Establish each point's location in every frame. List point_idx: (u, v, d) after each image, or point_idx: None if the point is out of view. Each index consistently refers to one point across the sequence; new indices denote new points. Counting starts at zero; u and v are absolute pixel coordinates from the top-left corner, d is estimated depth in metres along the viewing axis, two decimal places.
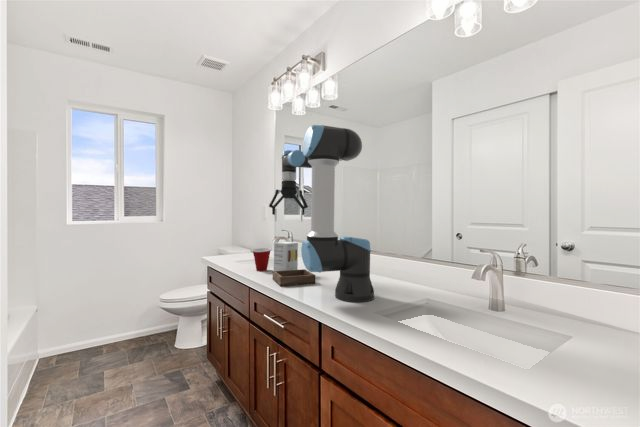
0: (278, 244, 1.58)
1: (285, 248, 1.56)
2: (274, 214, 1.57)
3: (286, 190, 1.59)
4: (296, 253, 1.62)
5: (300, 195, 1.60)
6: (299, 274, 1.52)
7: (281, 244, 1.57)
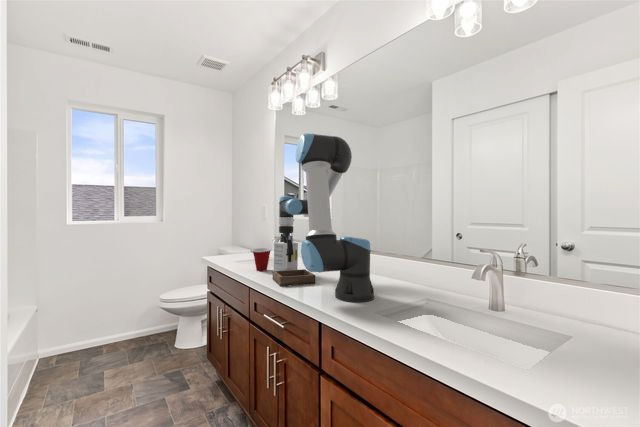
0: (278, 244, 1.58)
1: (285, 248, 1.56)
2: None
3: (283, 235, 1.62)
4: (296, 253, 1.62)
5: (286, 241, 1.55)
6: (299, 274, 1.52)
7: (281, 244, 1.57)
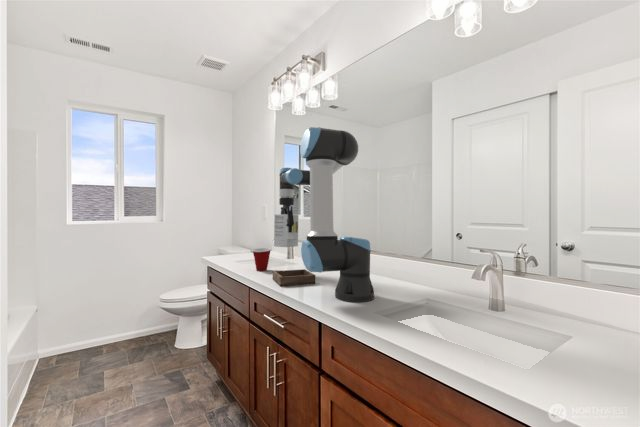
0: (278, 216, 1.58)
1: (285, 219, 1.56)
2: None
3: (283, 207, 1.62)
4: (297, 225, 1.61)
5: (287, 211, 1.55)
6: (299, 274, 1.52)
7: (281, 215, 1.57)
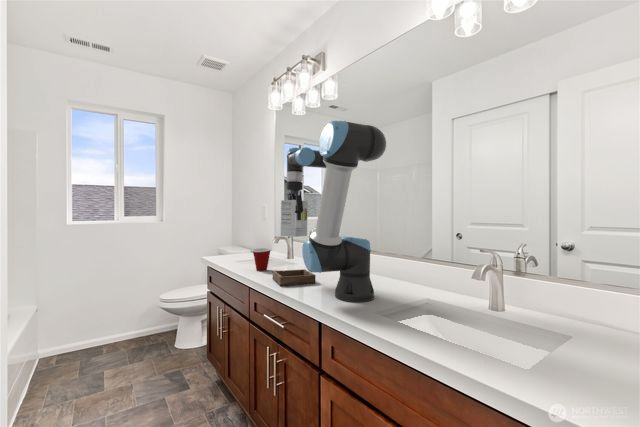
0: (286, 201, 1.41)
1: (293, 205, 1.39)
2: None
3: (291, 192, 1.45)
4: (306, 212, 1.45)
5: (295, 197, 1.38)
6: (299, 274, 1.52)
7: (289, 201, 1.40)
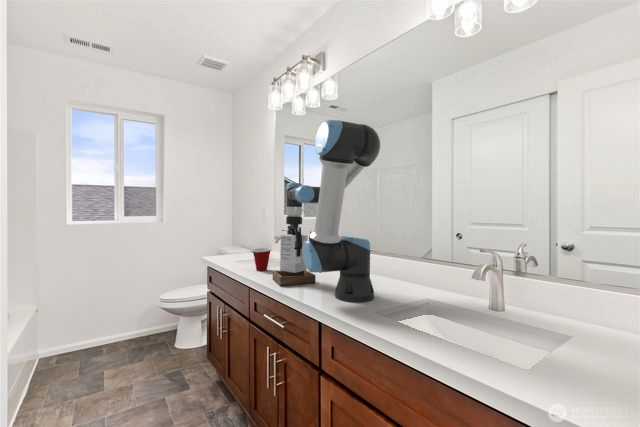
0: (285, 236, 1.41)
1: (293, 241, 1.39)
2: None
3: (291, 226, 1.45)
4: None
5: (295, 233, 1.38)
6: (299, 274, 1.52)
7: (289, 236, 1.40)
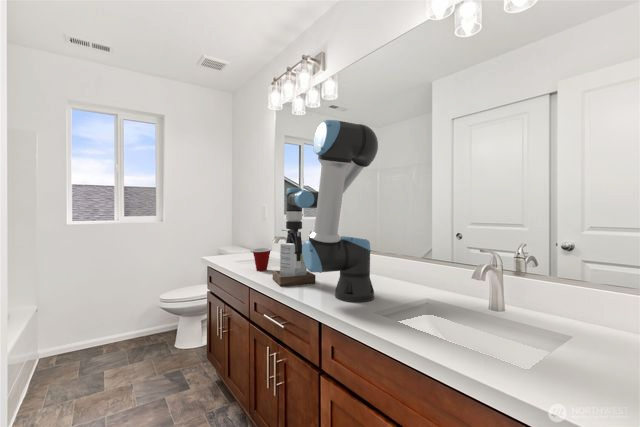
0: (285, 245, 1.42)
1: (292, 250, 1.39)
2: None
3: (290, 231, 1.45)
4: None
5: (295, 237, 1.38)
6: None
7: (288, 246, 1.40)
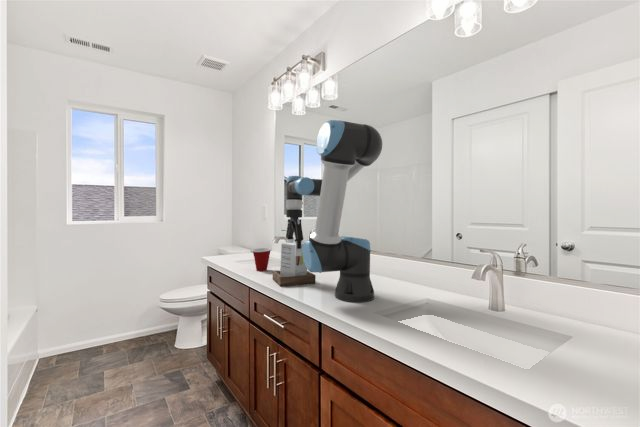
0: (286, 245, 1.41)
1: (293, 250, 1.39)
2: None
3: (291, 220, 1.45)
4: None
5: (295, 225, 1.38)
6: None
7: (289, 245, 1.40)
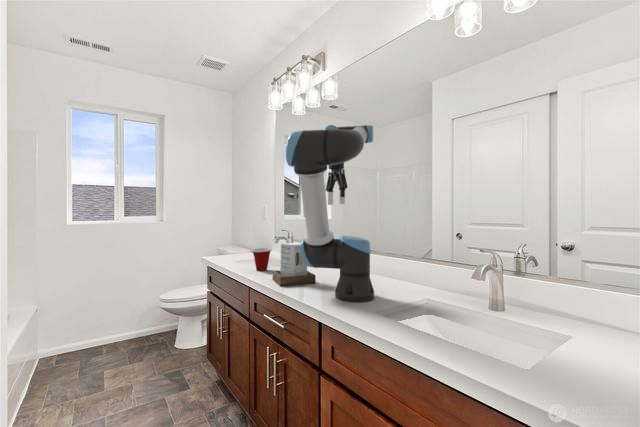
0: (285, 245, 1.42)
1: (292, 250, 1.39)
2: None
3: (332, 171, 1.50)
4: None
5: (339, 175, 1.43)
6: None
7: (288, 245, 1.41)
